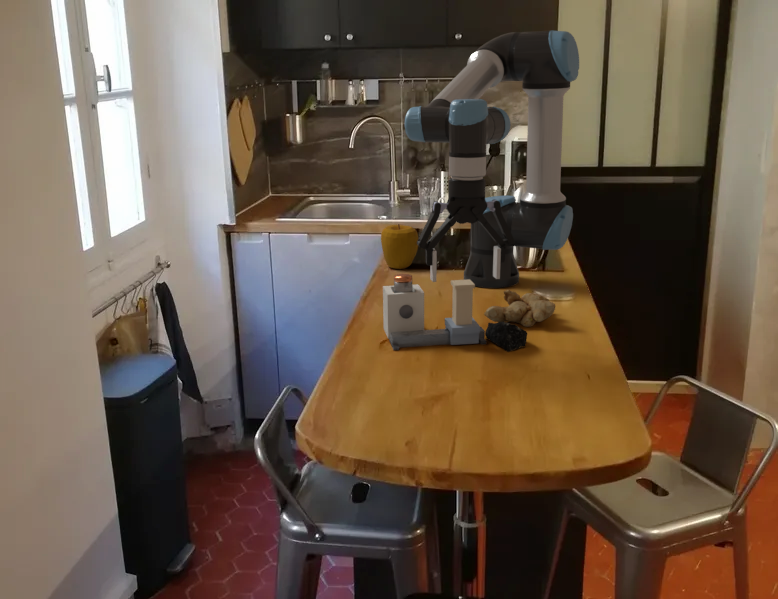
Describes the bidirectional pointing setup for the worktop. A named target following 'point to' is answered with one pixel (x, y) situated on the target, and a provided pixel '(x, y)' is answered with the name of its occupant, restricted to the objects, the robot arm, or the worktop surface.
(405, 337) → the rail
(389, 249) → the apple
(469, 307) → the carriage
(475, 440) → the worktop surface
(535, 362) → the worktop surface
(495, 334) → the rock
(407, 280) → the copper knob
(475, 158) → the robot arm
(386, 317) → the white square housing
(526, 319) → the ginger root
